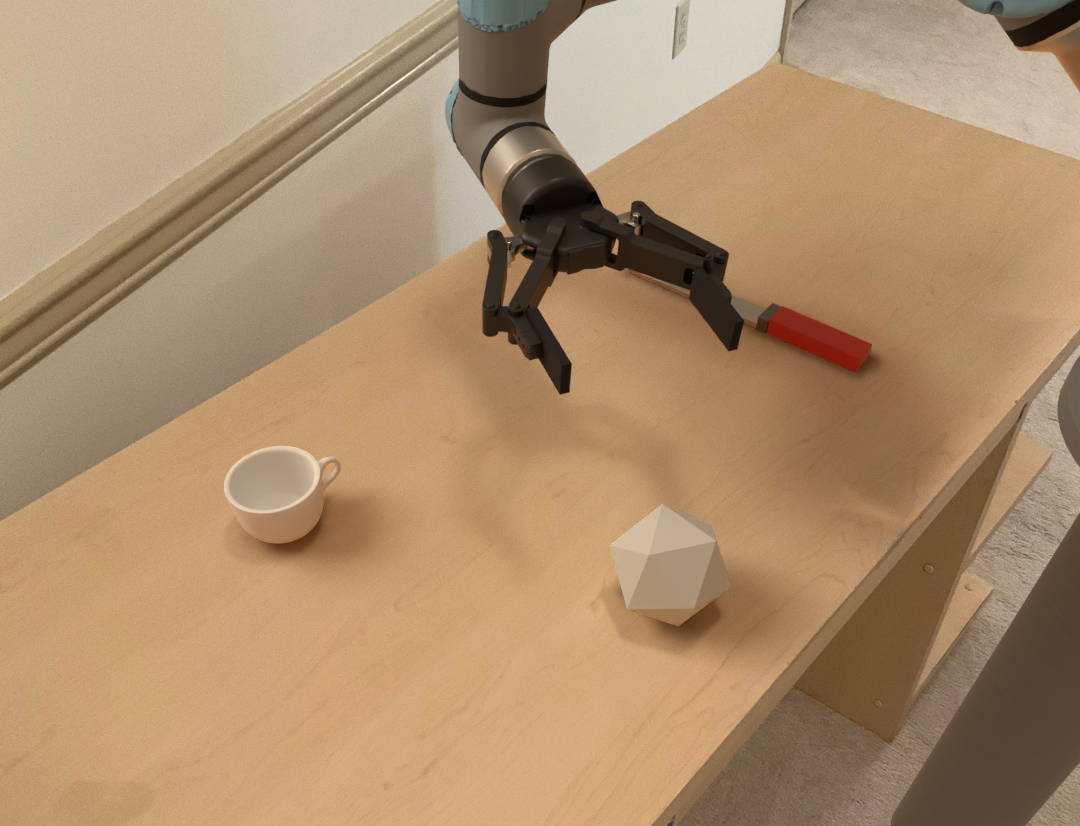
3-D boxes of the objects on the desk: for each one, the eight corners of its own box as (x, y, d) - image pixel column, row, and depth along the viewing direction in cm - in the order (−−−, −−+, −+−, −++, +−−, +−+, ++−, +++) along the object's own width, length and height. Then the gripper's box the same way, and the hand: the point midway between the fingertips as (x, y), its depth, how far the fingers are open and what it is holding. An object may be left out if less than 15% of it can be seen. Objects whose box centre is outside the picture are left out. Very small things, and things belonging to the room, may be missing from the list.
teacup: (267, 571, 83) (253, 529, 79) (221, 517, 87) (206, 474, 83) (369, 514, 88) (361, 470, 83) (321, 464, 91) (311, 420, 87)
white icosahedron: (744, 607, 82) (730, 486, 80) (716, 647, 74) (701, 515, 72) (644, 608, 86) (628, 493, 83) (608, 647, 78) (590, 521, 76)
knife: (868, 357, 101) (873, 343, 100) (855, 373, 100) (859, 358, 98) (642, 260, 112) (643, 246, 110) (627, 273, 110) (628, 259, 109)
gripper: (669, 206, 91) (791, 357, 79) (401, 263, 84) (489, 437, 72) (681, 128, 85) (815, 278, 73) (394, 182, 78) (489, 357, 67)
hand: (653, 358), depth 73 cm, fingers open, 13 cm apart
